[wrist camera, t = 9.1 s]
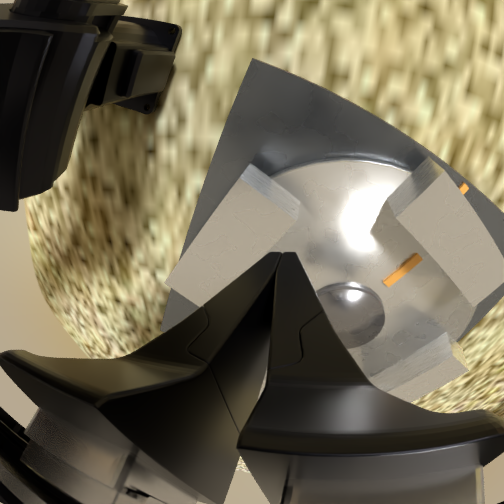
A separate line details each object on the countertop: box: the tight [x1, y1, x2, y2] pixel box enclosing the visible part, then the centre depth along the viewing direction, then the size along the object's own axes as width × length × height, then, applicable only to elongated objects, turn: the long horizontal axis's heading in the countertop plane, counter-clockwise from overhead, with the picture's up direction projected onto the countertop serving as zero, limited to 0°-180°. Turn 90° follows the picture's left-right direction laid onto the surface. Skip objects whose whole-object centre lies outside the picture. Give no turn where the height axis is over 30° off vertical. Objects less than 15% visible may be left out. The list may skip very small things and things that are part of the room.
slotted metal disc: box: [165, 156, 504, 403], centre depth 20 cm, size 23×23×4 cm
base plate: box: [160, 58, 504, 342], centre depth 22 cm, size 25×25×2 cm
